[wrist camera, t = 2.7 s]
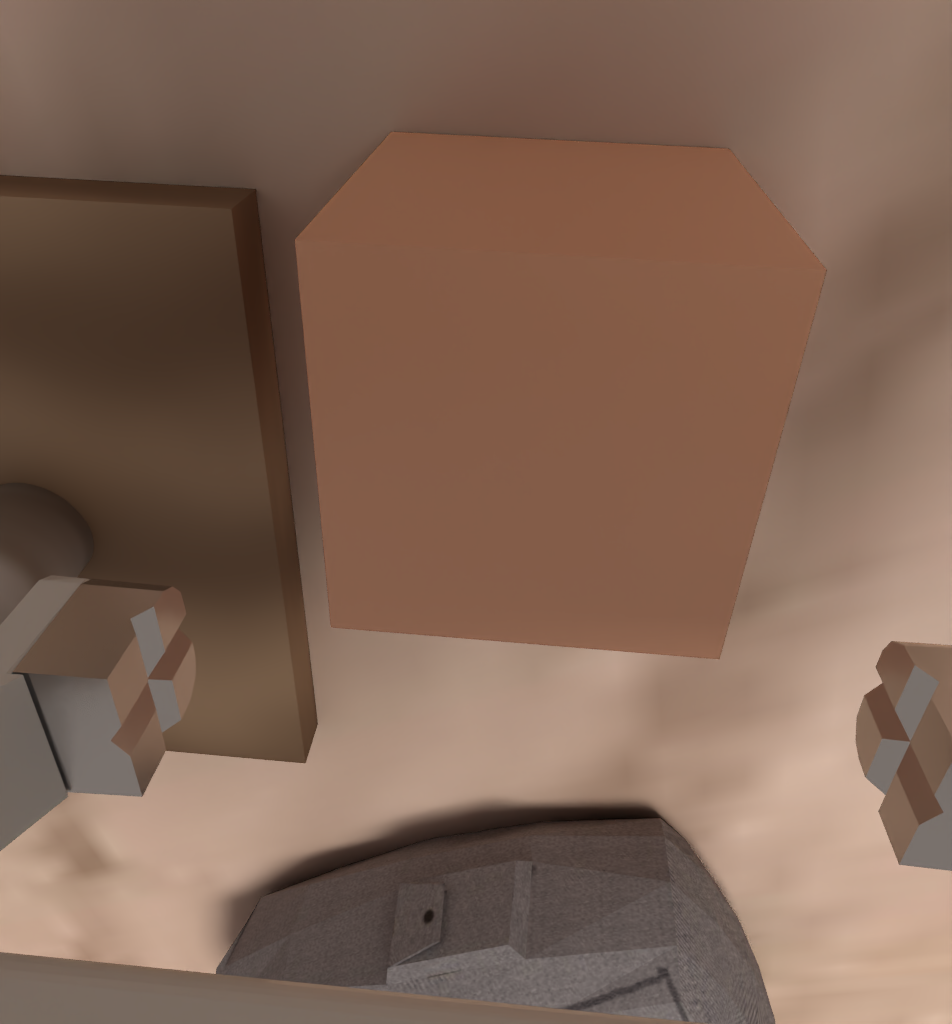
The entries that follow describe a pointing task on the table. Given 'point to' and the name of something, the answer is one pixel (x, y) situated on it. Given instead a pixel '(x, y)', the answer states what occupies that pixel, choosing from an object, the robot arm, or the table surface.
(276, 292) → the table surface
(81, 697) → the robot arm
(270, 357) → the stub plate
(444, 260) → the salmon orange block
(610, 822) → the small grey backpack
